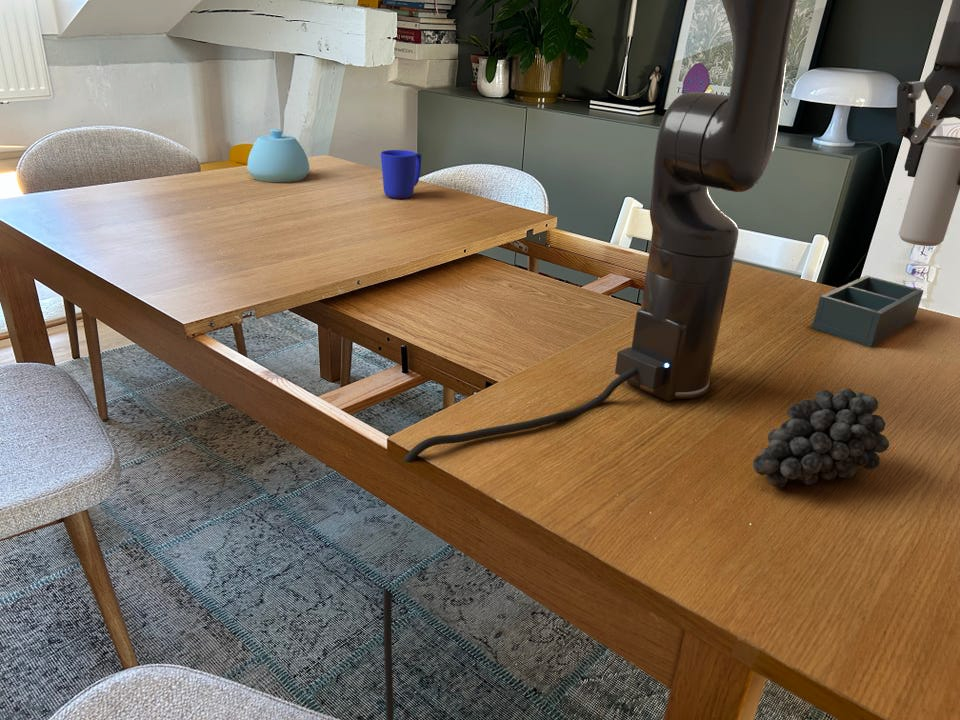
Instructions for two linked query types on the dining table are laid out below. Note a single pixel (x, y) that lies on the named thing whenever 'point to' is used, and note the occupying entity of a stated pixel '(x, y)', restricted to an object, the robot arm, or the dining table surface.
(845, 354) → the dining table surface
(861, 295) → the divided storage box
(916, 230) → the beverage can
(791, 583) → the dining table surface
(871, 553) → the dining table surface
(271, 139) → the sugar bowl
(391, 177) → the mug
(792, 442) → the fruit
